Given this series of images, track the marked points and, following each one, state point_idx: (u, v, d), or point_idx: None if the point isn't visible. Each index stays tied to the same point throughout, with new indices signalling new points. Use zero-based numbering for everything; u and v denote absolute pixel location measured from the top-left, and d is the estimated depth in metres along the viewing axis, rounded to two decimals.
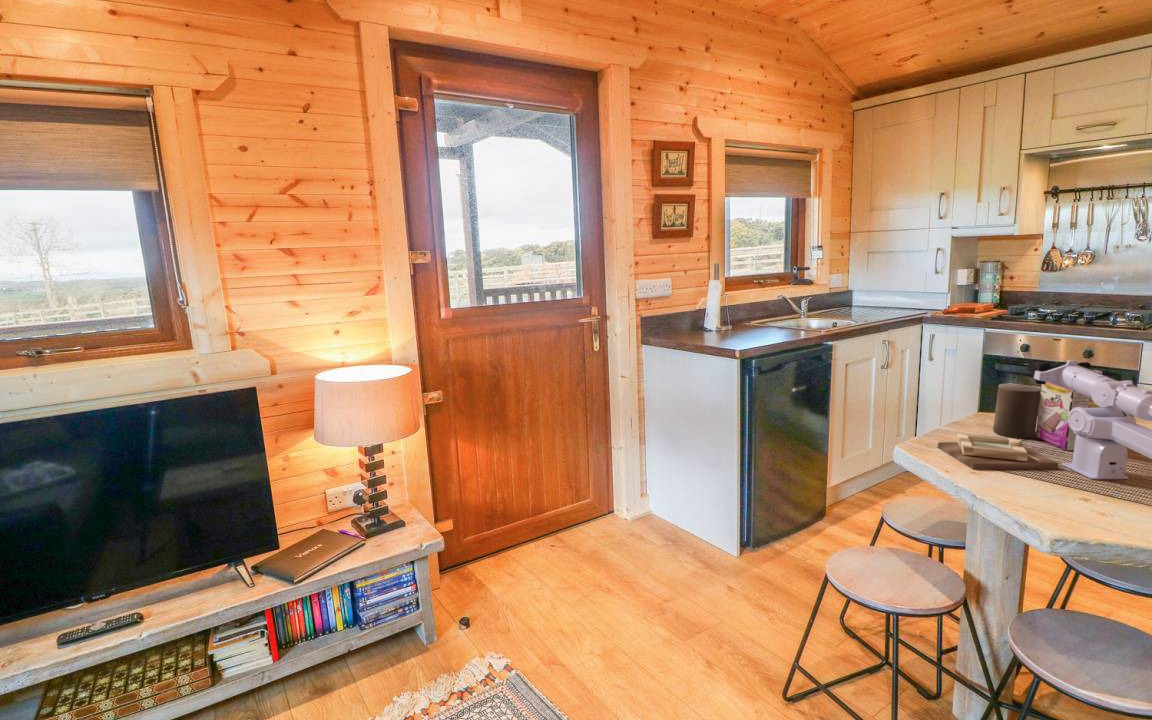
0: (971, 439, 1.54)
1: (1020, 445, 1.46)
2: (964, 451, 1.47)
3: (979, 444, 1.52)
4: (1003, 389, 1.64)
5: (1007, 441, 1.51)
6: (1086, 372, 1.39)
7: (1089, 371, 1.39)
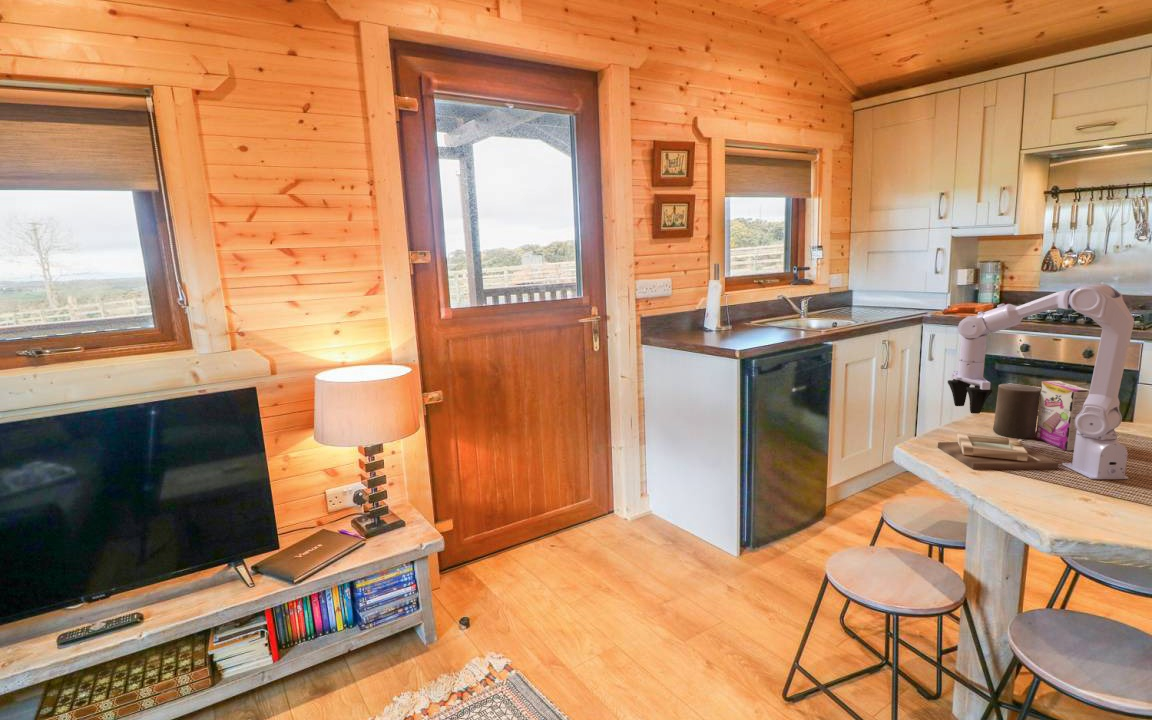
0: (971, 439, 1.54)
1: (1020, 445, 1.46)
2: (964, 451, 1.47)
3: (979, 444, 1.52)
4: (1003, 389, 1.64)
5: (1007, 441, 1.51)
6: (959, 355, 1.58)
7: None
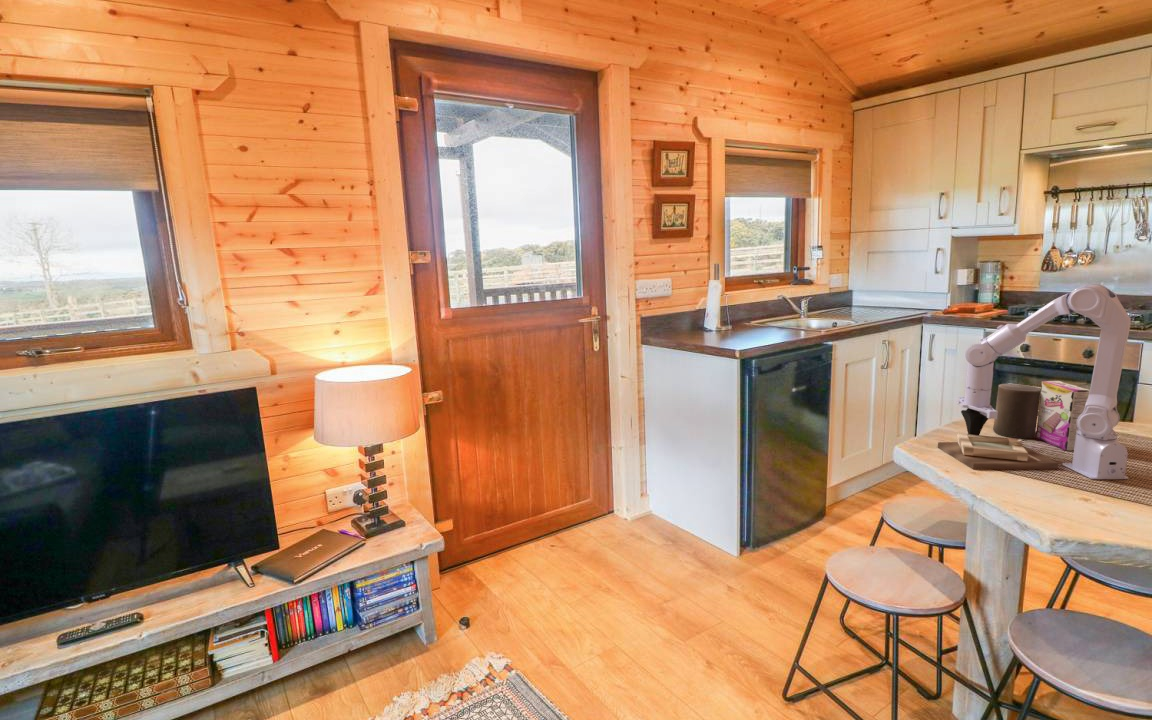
0: (971, 439, 1.54)
1: (1020, 445, 1.46)
2: (964, 451, 1.47)
3: (979, 444, 1.52)
4: (1003, 389, 1.64)
5: (1007, 441, 1.51)
6: None
7: None
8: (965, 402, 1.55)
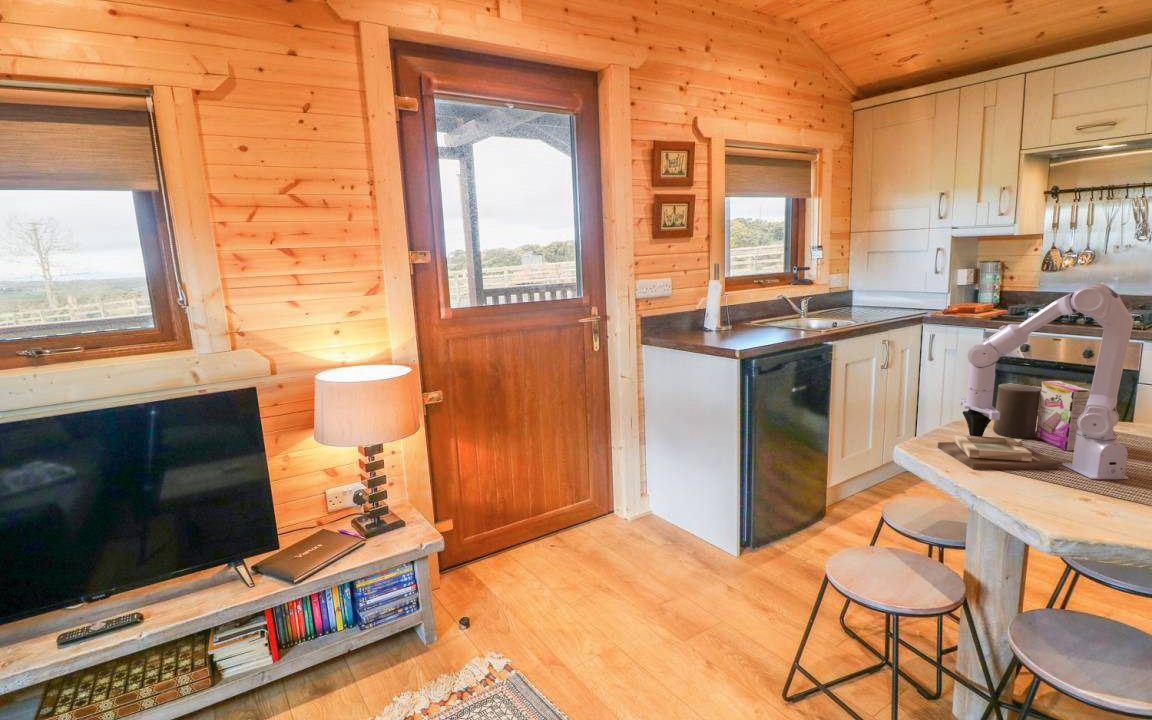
0: (969, 440, 1.53)
1: (1020, 445, 1.46)
2: (970, 454, 1.45)
3: (979, 445, 1.51)
4: (1003, 389, 1.64)
5: (1004, 441, 1.51)
6: None
7: None
8: (967, 403, 1.54)
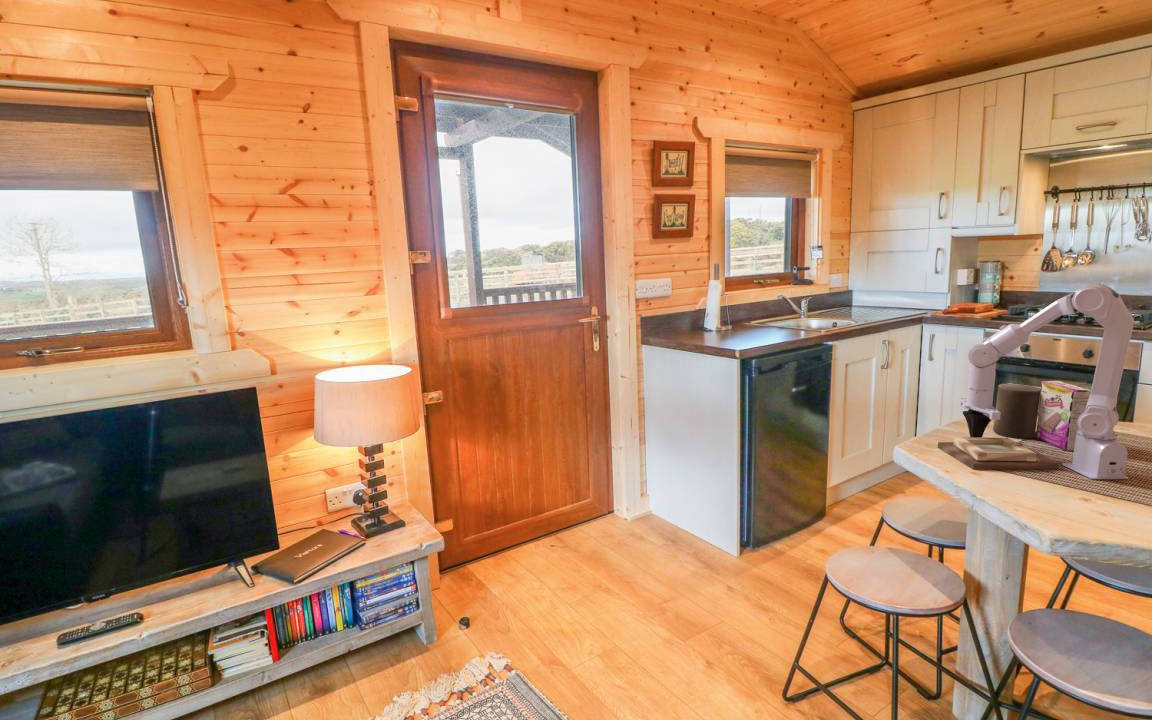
0: (969, 442, 1.52)
1: (1021, 445, 1.46)
2: (978, 457, 1.43)
3: (980, 447, 1.50)
4: (1003, 389, 1.64)
5: (1002, 441, 1.51)
6: (968, 383, 1.54)
7: None
8: (967, 403, 1.54)
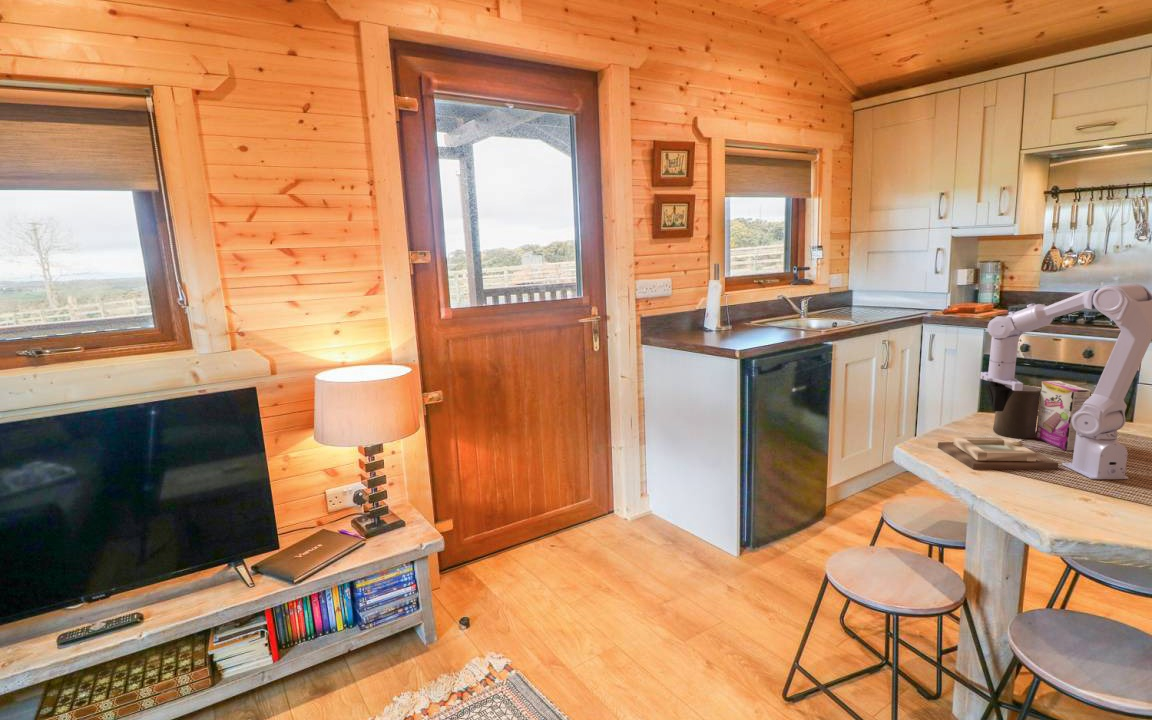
0: (969, 442, 1.52)
1: (1021, 445, 1.46)
2: (978, 457, 1.43)
3: (980, 447, 1.50)
4: None
5: (1002, 441, 1.51)
6: None
7: None
8: (989, 375, 1.56)
